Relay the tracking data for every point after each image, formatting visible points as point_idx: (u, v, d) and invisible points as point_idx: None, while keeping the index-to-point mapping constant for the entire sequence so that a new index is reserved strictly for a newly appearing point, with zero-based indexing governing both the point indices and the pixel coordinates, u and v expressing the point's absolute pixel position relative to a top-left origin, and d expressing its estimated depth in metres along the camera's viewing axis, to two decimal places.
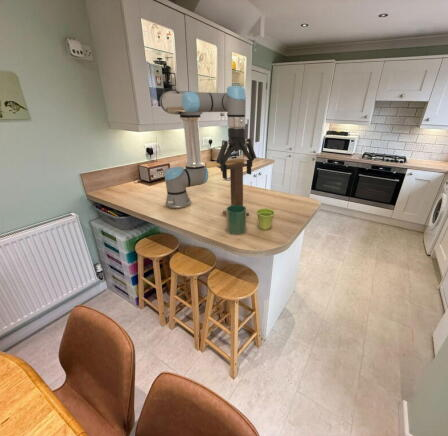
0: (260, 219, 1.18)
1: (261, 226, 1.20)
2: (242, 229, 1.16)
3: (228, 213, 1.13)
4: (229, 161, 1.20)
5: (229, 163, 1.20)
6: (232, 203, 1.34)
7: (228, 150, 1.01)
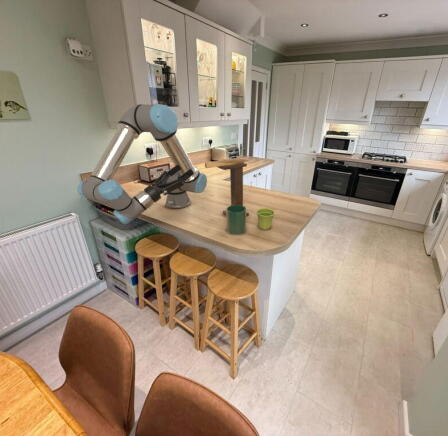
0: (260, 219, 1.18)
1: (261, 226, 1.20)
2: (242, 229, 1.16)
3: (228, 213, 1.13)
4: (229, 161, 1.20)
5: (229, 163, 1.20)
6: (232, 203, 1.34)
7: None
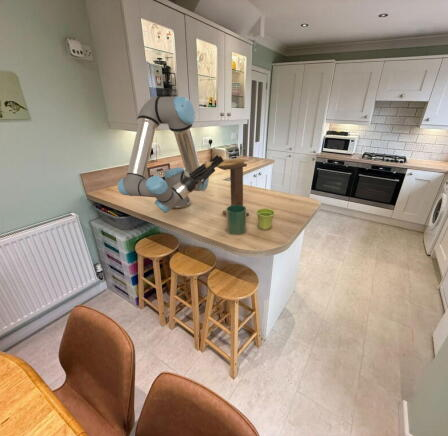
0: (260, 219, 1.18)
1: (261, 226, 1.20)
2: (242, 229, 1.16)
3: (228, 213, 1.13)
4: (229, 161, 1.20)
5: (229, 163, 1.20)
6: (232, 203, 1.34)
7: None
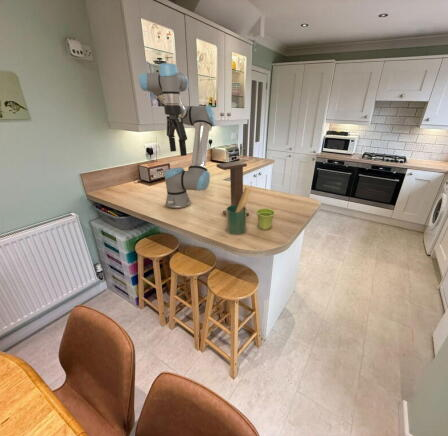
0: (260, 219, 1.18)
1: (261, 226, 1.20)
2: (242, 229, 1.16)
3: (228, 213, 1.13)
4: None
5: None
6: (232, 203, 1.34)
7: None
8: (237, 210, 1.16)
